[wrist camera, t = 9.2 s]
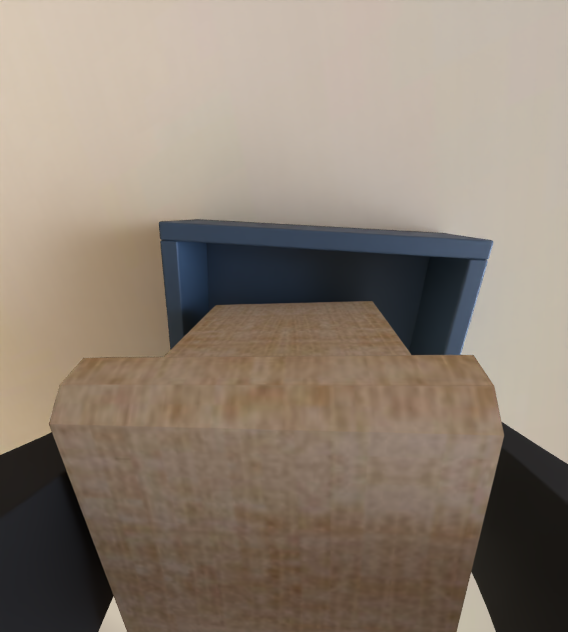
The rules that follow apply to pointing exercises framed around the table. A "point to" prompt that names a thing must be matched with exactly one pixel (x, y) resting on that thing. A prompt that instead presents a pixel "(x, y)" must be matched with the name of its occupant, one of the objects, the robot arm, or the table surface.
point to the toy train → (283, 474)
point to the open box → (326, 274)
